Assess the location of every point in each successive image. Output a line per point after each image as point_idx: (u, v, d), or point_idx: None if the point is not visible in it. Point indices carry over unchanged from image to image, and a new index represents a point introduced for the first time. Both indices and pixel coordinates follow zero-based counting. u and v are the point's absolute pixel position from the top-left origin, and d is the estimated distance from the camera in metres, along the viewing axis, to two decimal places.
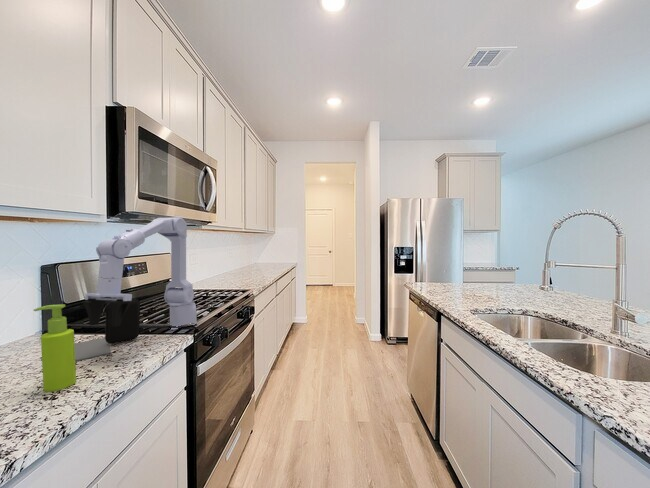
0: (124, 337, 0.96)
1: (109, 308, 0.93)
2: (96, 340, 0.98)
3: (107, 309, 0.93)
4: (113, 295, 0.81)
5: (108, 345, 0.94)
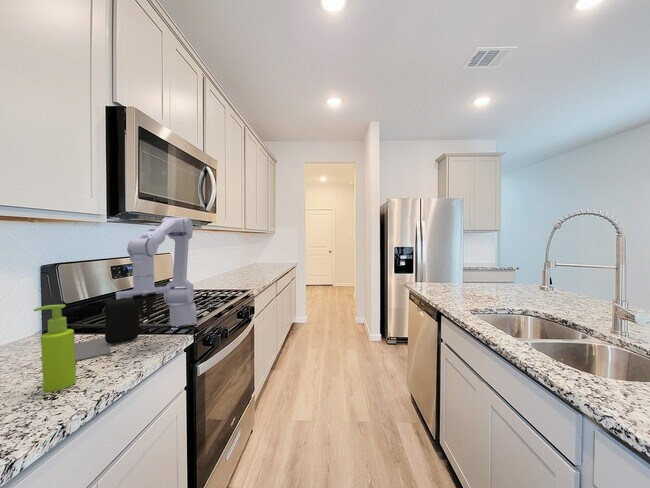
0: (124, 337, 0.96)
1: (109, 308, 0.93)
2: (96, 340, 0.98)
3: (107, 309, 0.93)
4: (158, 289, 0.91)
5: (108, 345, 0.94)
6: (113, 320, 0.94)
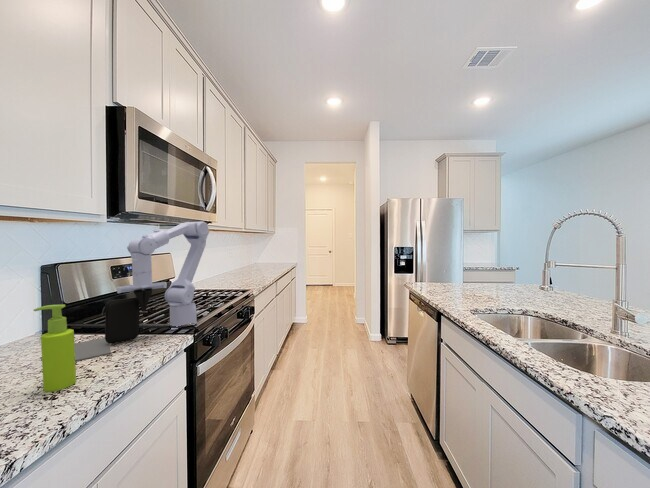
0: (124, 337, 0.96)
1: (109, 307, 0.94)
2: (96, 340, 0.98)
3: (107, 309, 0.94)
4: (156, 284, 1.00)
5: (108, 345, 0.94)
6: (113, 320, 0.94)
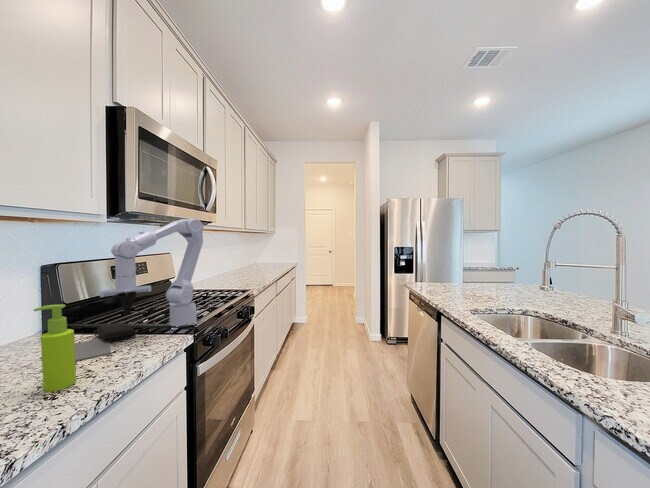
0: (121, 330, 1.00)
1: (99, 328, 1.03)
2: (96, 340, 0.98)
3: (97, 329, 1.03)
4: (140, 288, 0.98)
5: (108, 345, 0.94)
6: (106, 328, 1.02)
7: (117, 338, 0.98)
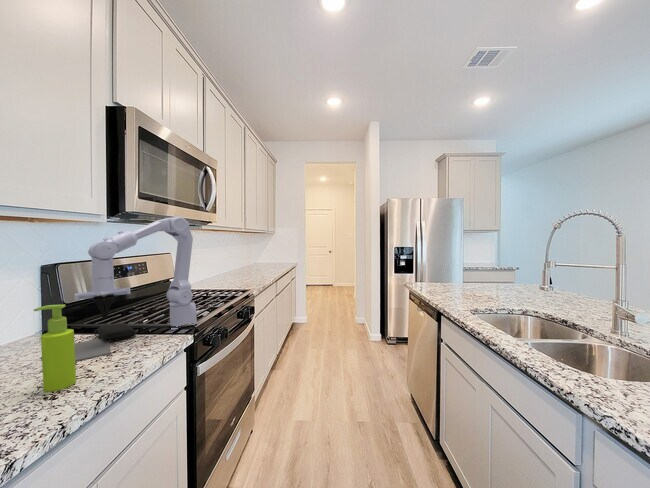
0: (121, 330, 1.00)
1: (99, 328, 1.03)
2: (96, 340, 0.98)
3: (97, 329, 1.03)
4: (118, 291, 0.95)
5: (108, 345, 0.94)
6: (106, 328, 1.02)
7: (117, 338, 0.98)
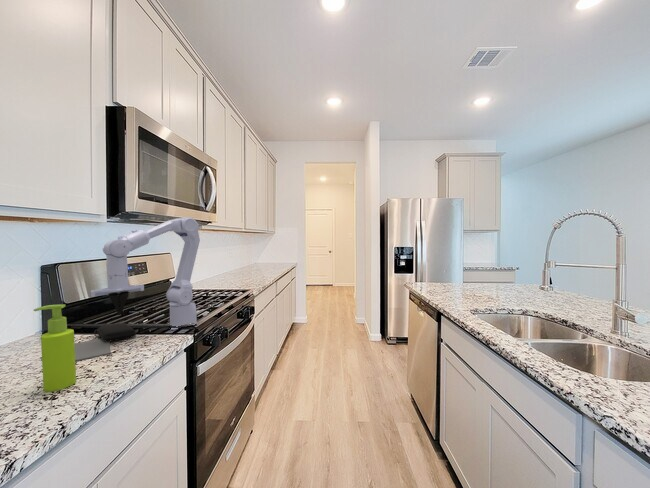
0: (121, 330, 1.00)
1: (99, 328, 1.03)
2: (96, 340, 0.98)
3: (97, 329, 1.03)
4: (132, 287, 0.97)
5: (108, 345, 0.94)
6: (106, 328, 1.02)
7: (117, 338, 0.98)
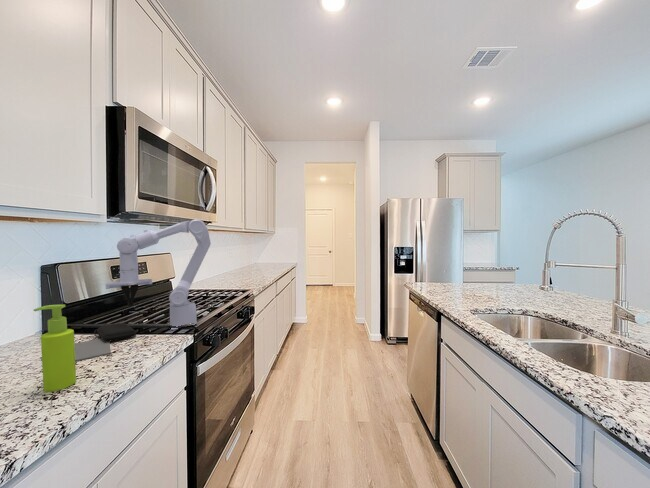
0: (121, 330, 1.00)
1: (99, 328, 1.03)
2: (96, 340, 0.98)
3: (97, 329, 1.03)
4: (142, 281, 1.08)
5: (108, 345, 0.94)
6: (106, 328, 1.02)
7: (117, 338, 0.98)
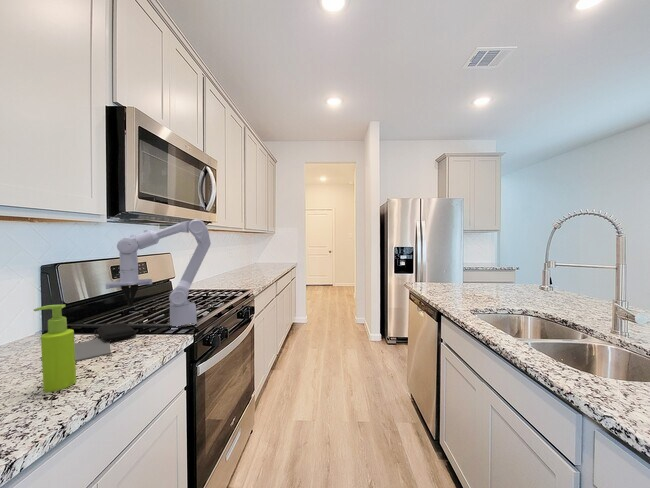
0: (121, 330, 1.00)
1: (99, 328, 1.03)
2: (96, 340, 0.98)
3: (97, 329, 1.03)
4: (142, 281, 1.08)
5: (108, 345, 0.94)
6: (106, 328, 1.02)
7: (117, 338, 0.98)
